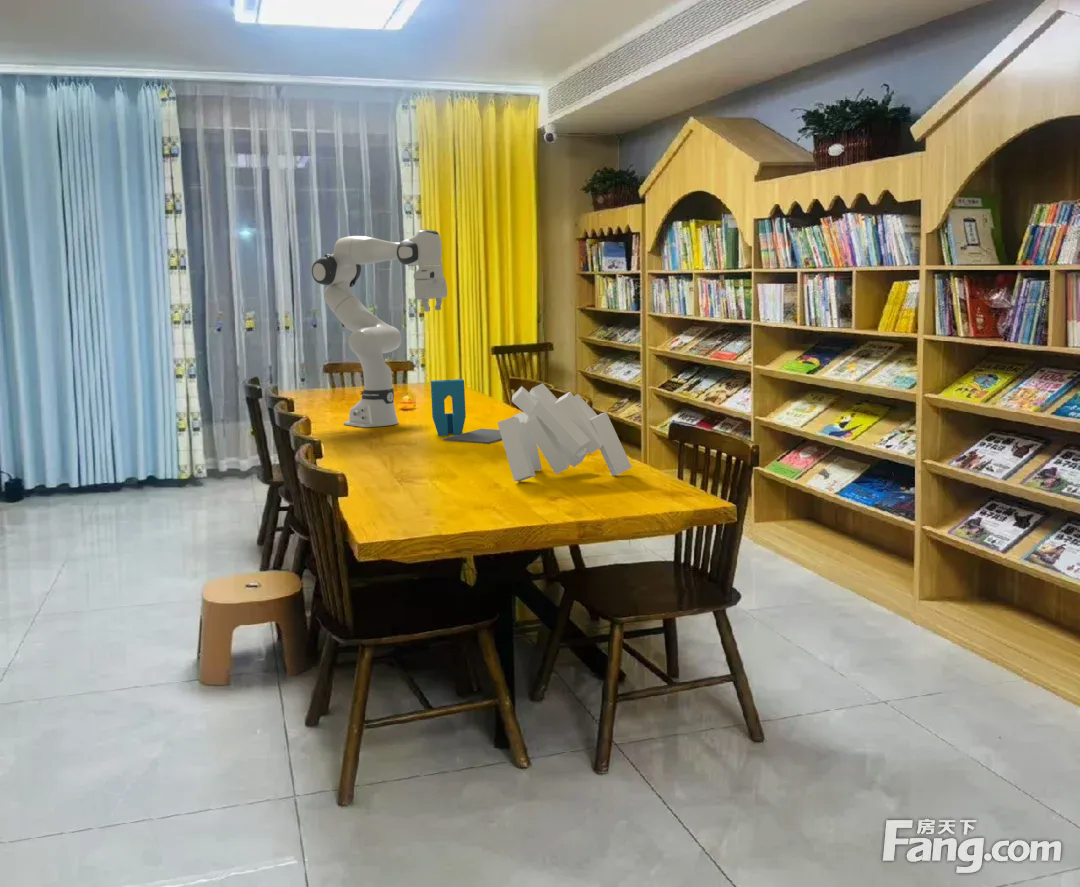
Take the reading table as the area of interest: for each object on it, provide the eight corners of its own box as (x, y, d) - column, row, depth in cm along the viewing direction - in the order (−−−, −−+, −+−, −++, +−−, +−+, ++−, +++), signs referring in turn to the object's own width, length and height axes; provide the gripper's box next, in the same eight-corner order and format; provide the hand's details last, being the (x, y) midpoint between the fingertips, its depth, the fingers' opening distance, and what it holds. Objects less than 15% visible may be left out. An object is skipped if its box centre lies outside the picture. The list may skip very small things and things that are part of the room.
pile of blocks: (614, 480, 322) (565, 379, 325) (649, 458, 294) (596, 348, 298) (515, 525, 310) (466, 419, 314) (542, 506, 282) (488, 391, 286)
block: (464, 432, 391) (462, 379, 387) (466, 434, 386) (464, 380, 383) (433, 434, 388) (430, 380, 385) (434, 436, 384) (431, 382, 380)
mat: (443, 440, 374) (443, 438, 374) (481, 430, 394) (481, 428, 394) (489, 443, 364) (489, 442, 363) (526, 433, 384) (526, 431, 383)
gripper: (435, 273, 401) (437, 309, 403) (411, 274, 382) (413, 312, 384) (450, 272, 399) (451, 309, 401) (426, 274, 380) (428, 312, 382)
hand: (432, 310), depth 392 cm, fingers open, 8 cm apart
